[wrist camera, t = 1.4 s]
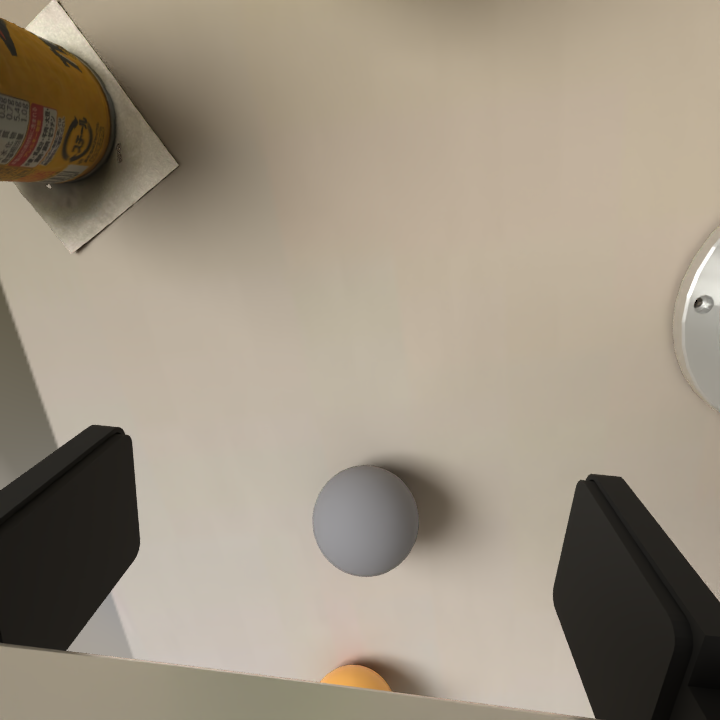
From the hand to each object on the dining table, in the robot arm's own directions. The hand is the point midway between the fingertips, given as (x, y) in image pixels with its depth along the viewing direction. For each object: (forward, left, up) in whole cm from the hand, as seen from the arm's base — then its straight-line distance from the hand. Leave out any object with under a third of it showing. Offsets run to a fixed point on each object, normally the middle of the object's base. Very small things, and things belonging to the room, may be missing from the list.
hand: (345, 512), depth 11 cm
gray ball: (0, +10, -14) cm, 17 cm away
